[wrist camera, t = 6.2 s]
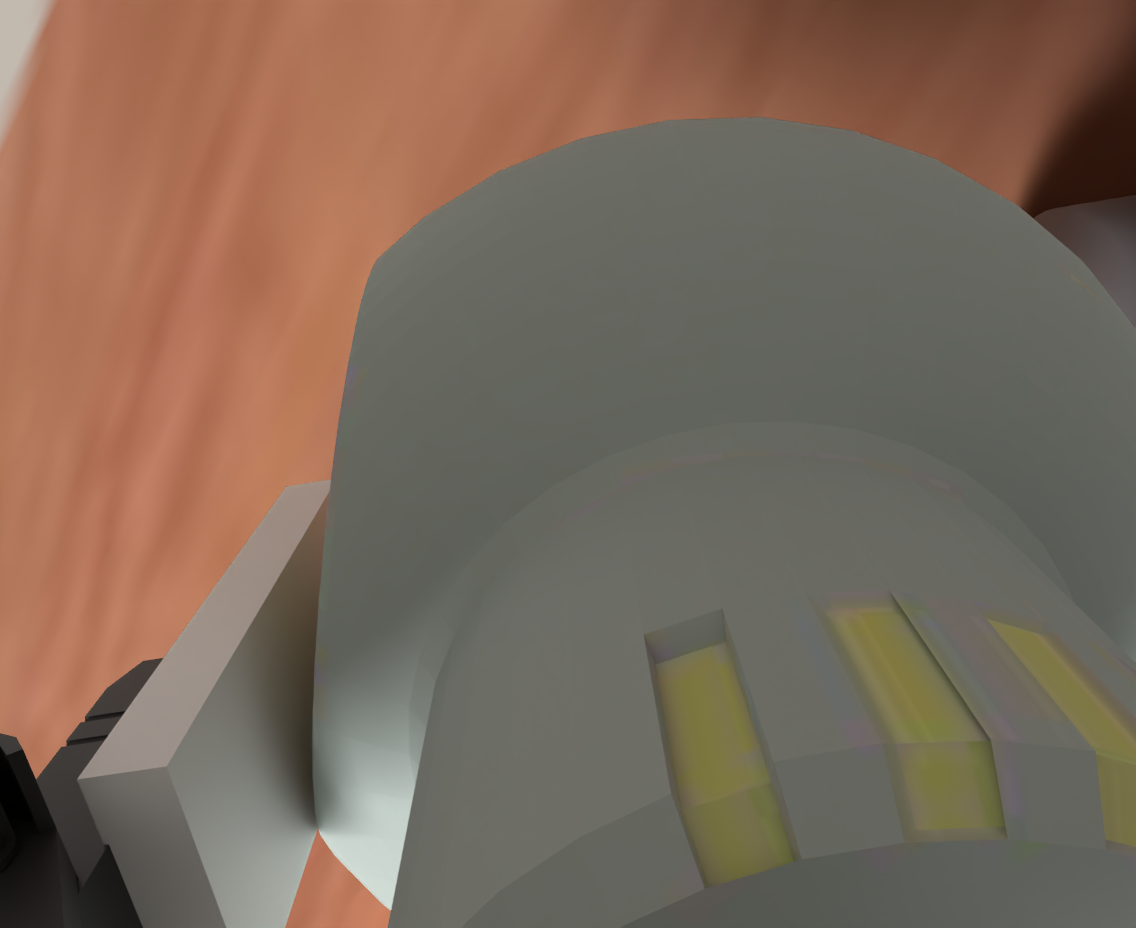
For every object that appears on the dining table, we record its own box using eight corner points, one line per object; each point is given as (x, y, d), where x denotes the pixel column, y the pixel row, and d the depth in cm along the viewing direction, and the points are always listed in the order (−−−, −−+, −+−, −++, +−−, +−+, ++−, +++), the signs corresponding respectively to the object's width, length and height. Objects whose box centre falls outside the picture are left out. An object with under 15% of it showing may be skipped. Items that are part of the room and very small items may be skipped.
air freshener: (858, 827, 16) (1260, 1779, 7) (373, 777, 16) (115, 1725, 7) (1054, 164, 13) (2441, 320, 3) (430, 73, 12) (21, -43, 3)
